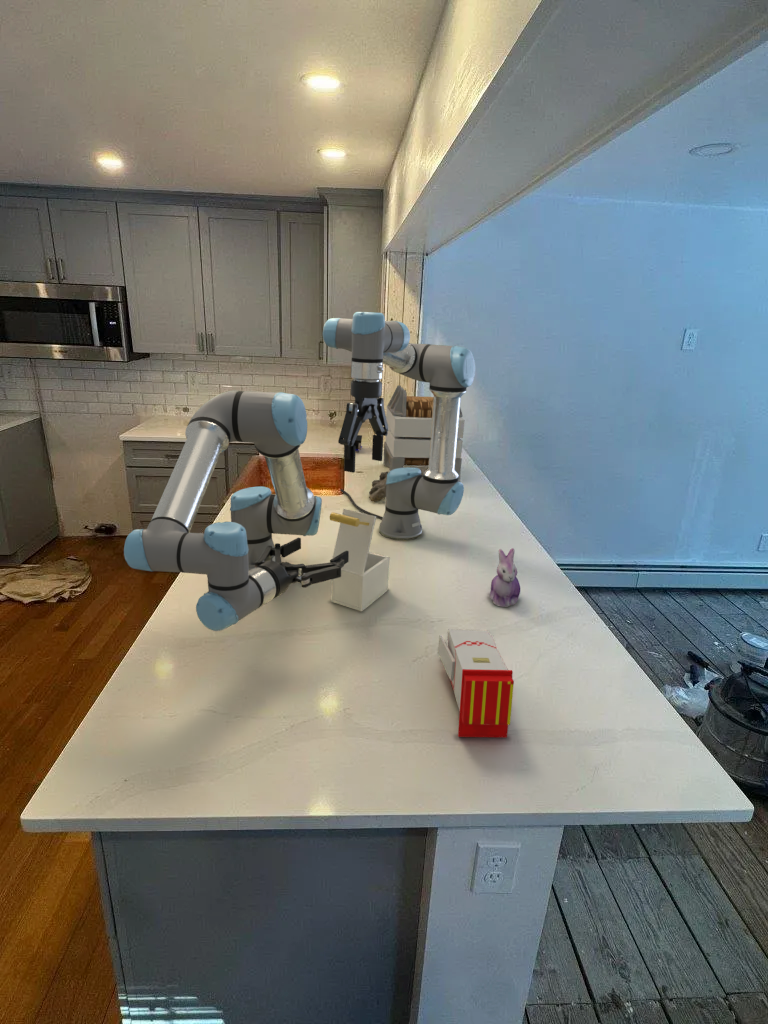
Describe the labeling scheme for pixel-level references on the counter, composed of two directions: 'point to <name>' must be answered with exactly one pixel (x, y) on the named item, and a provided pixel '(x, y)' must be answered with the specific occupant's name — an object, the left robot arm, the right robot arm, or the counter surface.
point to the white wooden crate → (413, 432)
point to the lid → (354, 538)
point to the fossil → (378, 488)
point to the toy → (478, 682)
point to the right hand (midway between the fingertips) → (363, 465)
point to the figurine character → (358, 442)
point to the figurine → (505, 581)
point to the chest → (362, 584)
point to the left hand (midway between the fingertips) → (323, 549)
